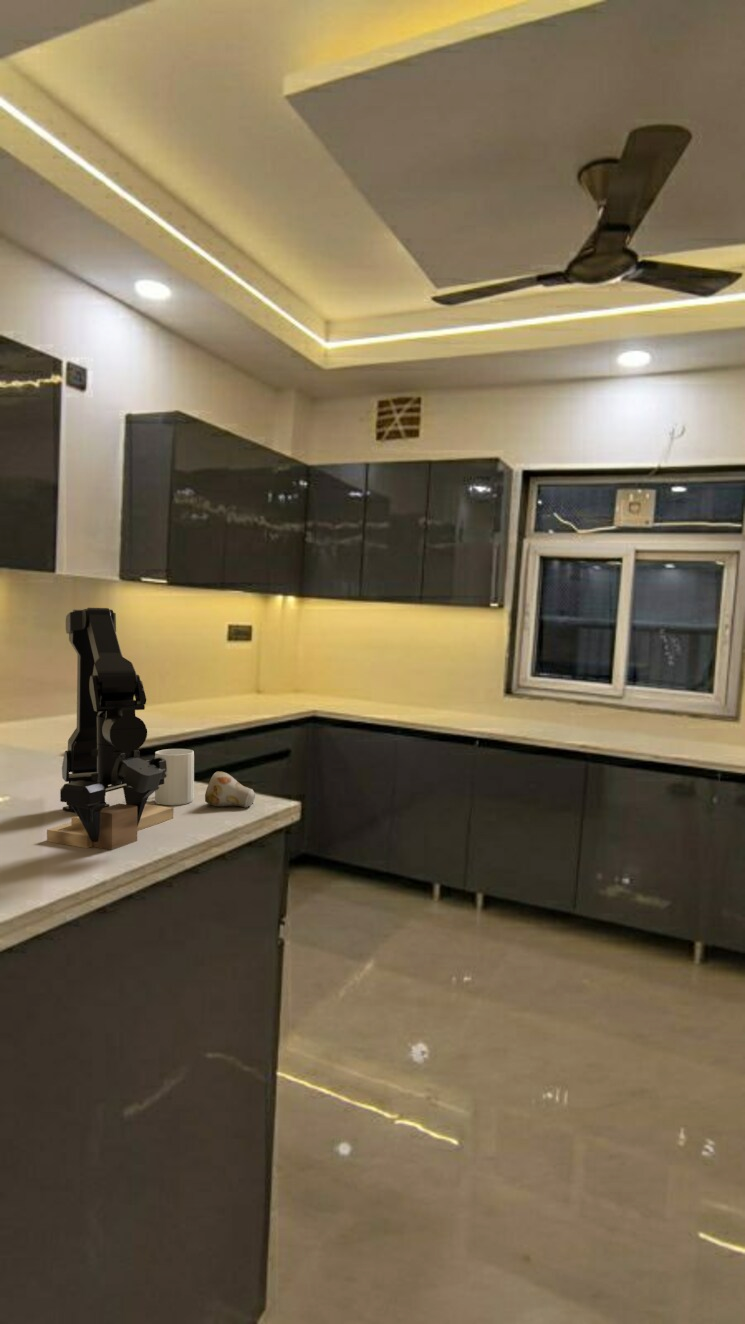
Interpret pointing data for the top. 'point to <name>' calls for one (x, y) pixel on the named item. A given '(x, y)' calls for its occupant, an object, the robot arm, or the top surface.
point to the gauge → (114, 826)
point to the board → (82, 839)
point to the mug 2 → (176, 777)
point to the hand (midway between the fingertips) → (115, 834)
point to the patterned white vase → (227, 791)
